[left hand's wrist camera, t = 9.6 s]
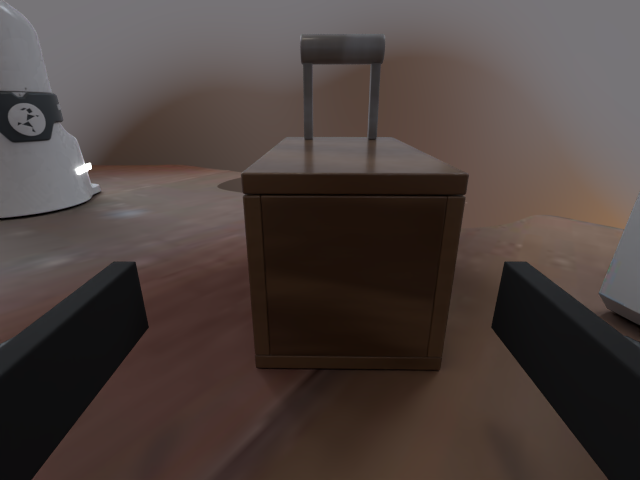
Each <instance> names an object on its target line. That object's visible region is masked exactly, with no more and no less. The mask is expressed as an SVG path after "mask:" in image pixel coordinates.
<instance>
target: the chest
mask: <svg viewBox="0 0 640 480" xmlns="http://www.w3.org/2000/svg"><path fill="white" fill-rule="evenodd" d="M464 204H465V196H463V195H369V194H245V195H244V196H243V205H244V218H245V230H246V243H247V256H248V268H249V281H250V294H251V306H252V319H253V332H254V344H255V354H256V355H255V359H256V368H326V369H413V370H440V366H441V359H442V358H441V357H442V351H443V345H444V338H445V331H446V325H447V318H448V311H449V304H450V298H451V291H452V284H453V278H454V271H455V264H456V258H457V251H458V244H459V238H460V231H461V224H462V218H463V211H464Z"/></svg>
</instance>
